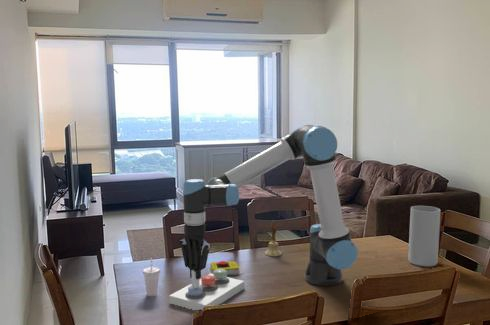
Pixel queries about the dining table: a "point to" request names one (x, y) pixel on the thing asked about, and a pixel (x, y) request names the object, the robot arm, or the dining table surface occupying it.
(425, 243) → the cylinder vase
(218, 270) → the sage-green button
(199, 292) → the slate-blue button
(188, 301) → the button panel
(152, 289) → the smoothie
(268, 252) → the hand bell
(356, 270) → the dining table surface
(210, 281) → the red button
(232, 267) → the emergency button
